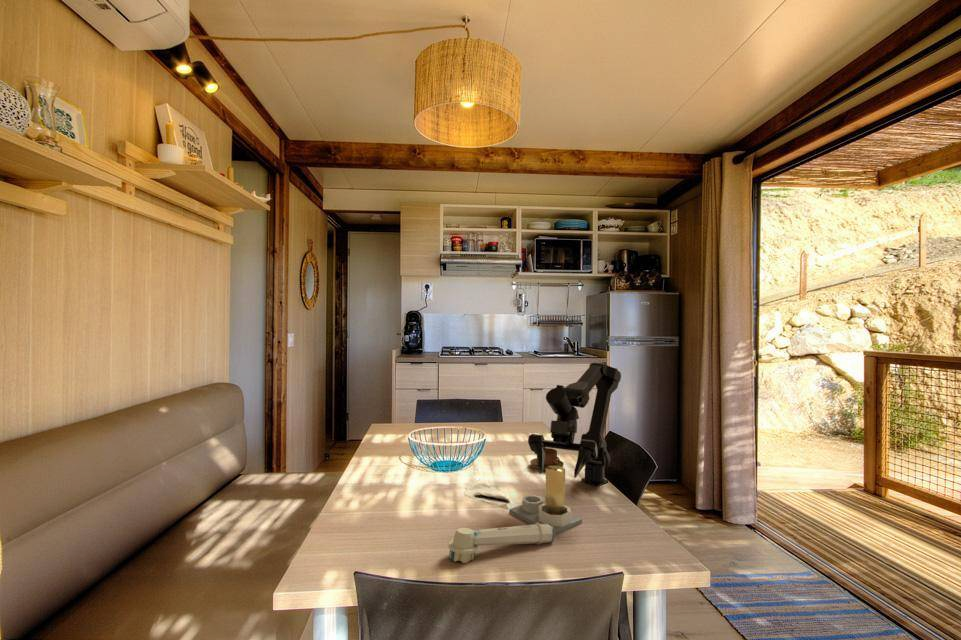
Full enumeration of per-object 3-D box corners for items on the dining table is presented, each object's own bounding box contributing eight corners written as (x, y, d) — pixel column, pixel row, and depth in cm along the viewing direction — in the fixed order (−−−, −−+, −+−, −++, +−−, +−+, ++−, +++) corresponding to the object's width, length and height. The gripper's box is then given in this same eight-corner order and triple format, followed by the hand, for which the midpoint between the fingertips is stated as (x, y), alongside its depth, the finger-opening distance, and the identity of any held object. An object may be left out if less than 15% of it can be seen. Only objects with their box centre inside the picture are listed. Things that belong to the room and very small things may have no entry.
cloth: (456, 481, 142) (456, 474, 143) (496, 478, 146) (496, 471, 146) (471, 515, 117) (472, 507, 117) (519, 510, 120) (519, 502, 120)
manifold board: (537, 502, 124) (537, 490, 124) (581, 523, 112) (581, 509, 112) (509, 512, 117) (509, 499, 117) (553, 535, 105) (553, 521, 105)
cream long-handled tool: (557, 528, 100) (456, 531, 91) (553, 558, 100) (451, 564, 91) (546, 519, 105) (448, 521, 96) (542, 547, 105) (444, 551, 96)
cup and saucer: (568, 466, 157) (568, 449, 157) (556, 476, 147) (556, 458, 147) (538, 460, 163) (538, 444, 163) (524, 469, 153) (524, 452, 153)
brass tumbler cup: (554, 512, 115) (554, 464, 115) (568, 519, 111) (569, 469, 111) (541, 517, 112) (541, 468, 112) (555, 524, 108) (556, 473, 108)
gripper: (529, 405, 123) (517, 455, 113) (596, 411, 116) (590, 464, 106) (536, 426, 130) (526, 475, 120) (599, 433, 123) (594, 485, 113)
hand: (557, 474), depth 114 cm, fingers open, 9 cm apart
